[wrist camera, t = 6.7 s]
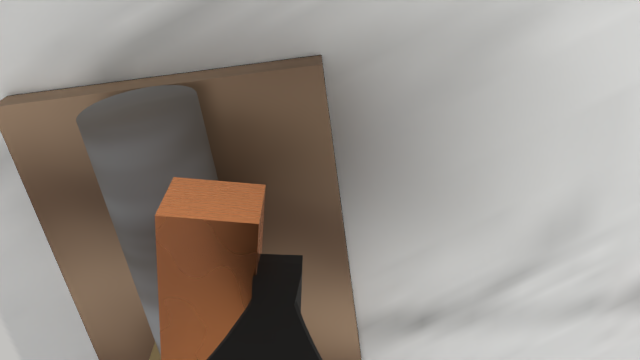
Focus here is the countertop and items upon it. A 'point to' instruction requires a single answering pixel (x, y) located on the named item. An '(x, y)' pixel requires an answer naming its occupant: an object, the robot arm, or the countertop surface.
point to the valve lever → (205, 261)
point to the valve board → (242, 151)
